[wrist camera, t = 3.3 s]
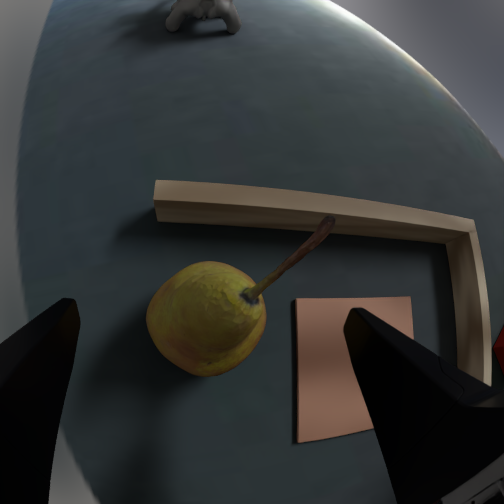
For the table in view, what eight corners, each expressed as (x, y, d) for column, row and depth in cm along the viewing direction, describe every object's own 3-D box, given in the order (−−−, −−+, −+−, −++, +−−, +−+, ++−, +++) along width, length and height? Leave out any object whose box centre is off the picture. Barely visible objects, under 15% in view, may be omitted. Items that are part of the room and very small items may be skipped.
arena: (462, 432, 18) (486, 436, 15) (158, 494, 13) (154, 517, 10) (451, 232, 23) (473, 220, 21) (159, 203, 19) (155, 179, 16)
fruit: (159, 269, 17) (121, 141, 6) (256, 281, 18) (359, 181, 7) (148, 365, 16) (72, 403, 4) (249, 375, 17) (361, 421, 5)
